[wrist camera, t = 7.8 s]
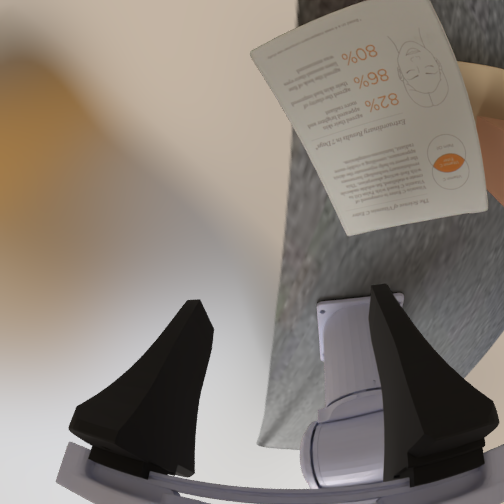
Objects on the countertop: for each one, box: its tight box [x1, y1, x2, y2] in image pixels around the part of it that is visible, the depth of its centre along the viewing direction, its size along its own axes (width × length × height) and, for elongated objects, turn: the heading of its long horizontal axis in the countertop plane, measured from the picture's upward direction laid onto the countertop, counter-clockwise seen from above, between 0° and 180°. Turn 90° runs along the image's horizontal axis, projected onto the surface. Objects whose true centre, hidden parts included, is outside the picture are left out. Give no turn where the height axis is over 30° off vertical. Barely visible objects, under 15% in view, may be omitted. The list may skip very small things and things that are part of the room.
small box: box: [250, 0, 488, 236], centre depth 12 cm, size 8×6×10 cm
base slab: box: [457, 61, 504, 124], centre depth 13 cm, size 7×7×2 cm
